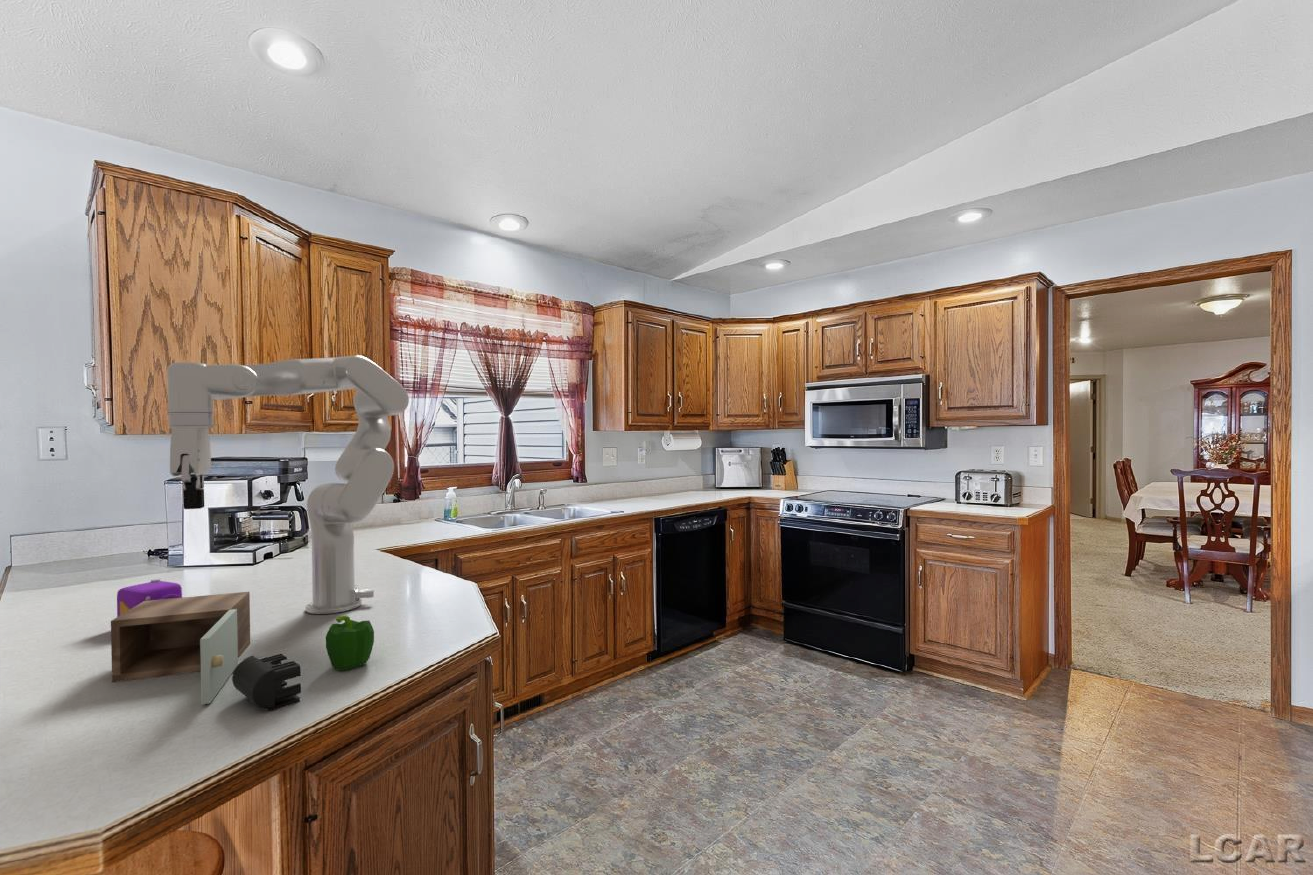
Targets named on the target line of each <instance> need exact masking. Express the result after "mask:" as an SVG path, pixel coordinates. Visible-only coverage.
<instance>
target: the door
mask: <svg viewBox="0 0 1313 875" xmlns="http://www.w3.org/2000/svg"><path fill="white" fill-rule="evenodd" d="M200 654H201V671H200V692H201V693H200V696H201V697H200V699H201V701H200V703H201V704H200V705H206V704H211V703H212V702H213V700H214V699H215V697H216V696H217V695H218V693H219V692H220V690H221V689H222V687H223V686H224V685H225V684H226V682H227V681H228V679H229V678H230V676H231V675H233V672H234V670H235V668H236V667H237V666H238V664H239V658H238V638H237V609H232V610H229V611H228V612H227V613H226V614H225V615H224V616H223V617H222V618H221V619H220V620H219V621H218V622H217V623H216V624H215V625H214V626H213V627H212V628H211V629H210V630H209V631H208V632H207V633H206V634H205V635H204V636H203V637H202V638H201V639H200Z"/></svg>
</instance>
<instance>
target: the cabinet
mask: <svg viewBox="0 0 1313 875" xmlns="http://www.w3.org/2000/svg"><path fill="white" fill-rule="evenodd" d="M250 595H251V594H250V591H240V592H232V593H231V592H230V593H229V592H228V593H221V594H220V593H218V594H207V595H206V594H205V595H197V596H196V595H195V596H188V597H187V596H186V597H185V596H184V597H183V596H182V598H172V599H161V600H150V601H143V602H142V603H140V604H138V605H137V606H135V607H133V608H132V609H130V610H128V611H127V612H125V613H123V614H122V615H120V616H118V617H117V616H116V617H114V618H113V619H112V620H110V642H111V644H110V645H111V648H110V649H111V650H110V651H111V683H115V682H123V681H132V680H139V679H149V678H156V677H164V676H172V675H179V674H185V673H186V674H187V673H188V674H189V673H196V672H201V654H200V639H201V638H202V637H203V636H204V635H205V634H206V633H207V632H208V631H209V630H210V629H211V628H212V627H213V626H214V625H215V624H216V623H217V622H218V621H219V620H220V619H221V618H222V617H223V616H224V615H225V614H226V613H227V612H228V611H229V610H232V609H237V638H238V659H239V658H240V657H241V656H242V654H243V653H244V652H245V651H246V650H247V648H248V647H249V646H250V644H251V606H250V605H251V604H250V602H251V601H250V597H251V596H250Z"/></svg>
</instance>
